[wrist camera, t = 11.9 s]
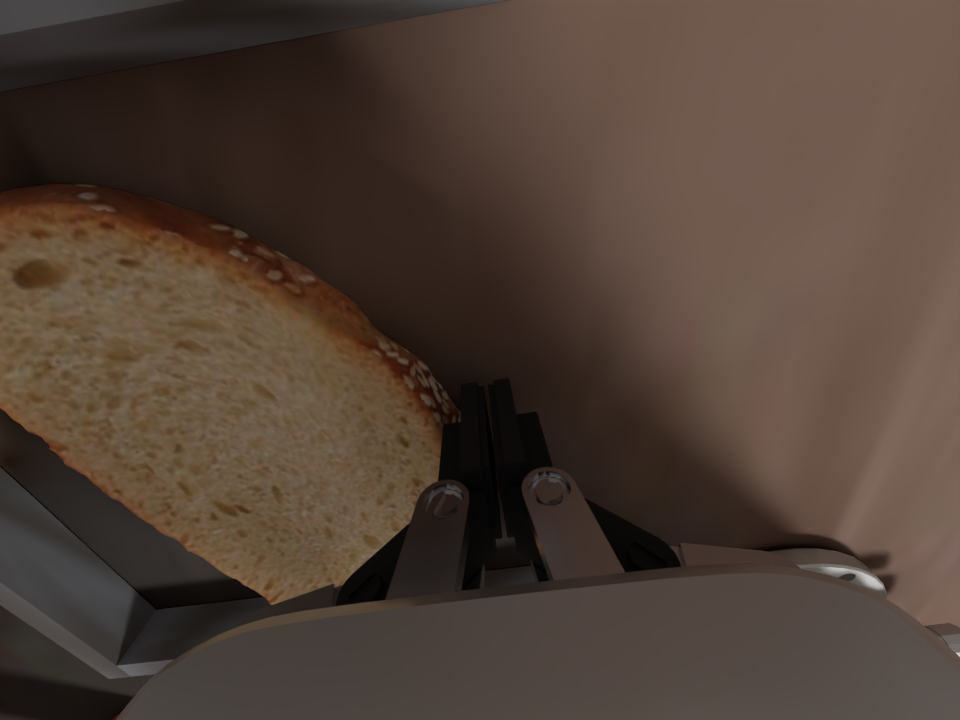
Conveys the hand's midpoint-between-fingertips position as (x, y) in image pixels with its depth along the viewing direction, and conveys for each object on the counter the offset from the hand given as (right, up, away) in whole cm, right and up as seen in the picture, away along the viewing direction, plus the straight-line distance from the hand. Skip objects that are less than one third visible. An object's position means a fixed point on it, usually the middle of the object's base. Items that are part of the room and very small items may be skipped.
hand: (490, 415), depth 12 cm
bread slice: (-8, -1, +2) cm, 9 cm away
